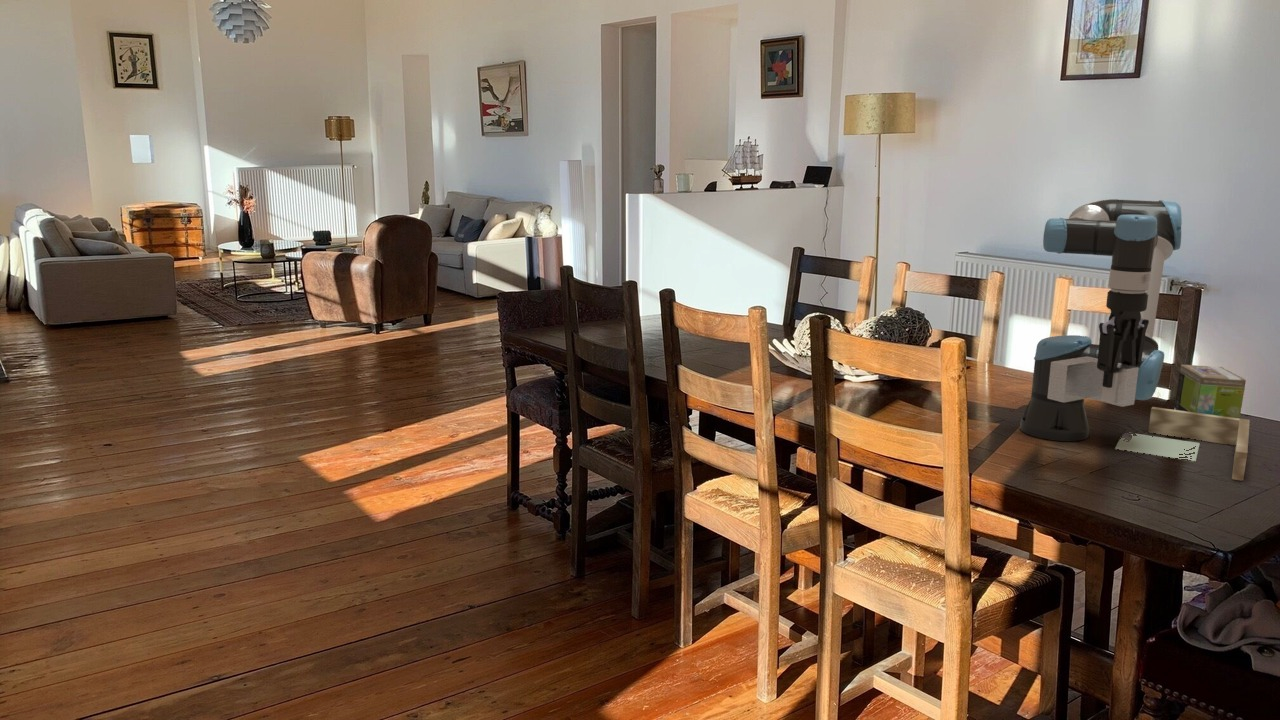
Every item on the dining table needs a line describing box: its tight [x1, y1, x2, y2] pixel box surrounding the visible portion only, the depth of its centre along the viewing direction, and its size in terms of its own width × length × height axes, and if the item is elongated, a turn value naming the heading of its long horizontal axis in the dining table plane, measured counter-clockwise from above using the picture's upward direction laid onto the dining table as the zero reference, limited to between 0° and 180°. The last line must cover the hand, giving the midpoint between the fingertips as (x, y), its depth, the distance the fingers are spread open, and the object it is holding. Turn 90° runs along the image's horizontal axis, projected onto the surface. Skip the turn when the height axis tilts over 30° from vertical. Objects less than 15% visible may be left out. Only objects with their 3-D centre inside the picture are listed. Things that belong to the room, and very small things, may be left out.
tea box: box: [1173, 364, 1247, 419], centre depth 234 cm, size 15×10×15 cm, turn 168°
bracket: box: [1047, 356, 1139, 408], centre depth 204 cm, size 12×12×8 cm
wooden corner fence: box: [1147, 406, 1251, 482], centre depth 216 cm, size 20×30×6 cm, turn 148°
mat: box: [1114, 433, 1200, 463], centre depth 222 cm, size 16×16×1 cm
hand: (1114, 400), depth 204 cm, fingers closed on bracket, 4 cm apart
